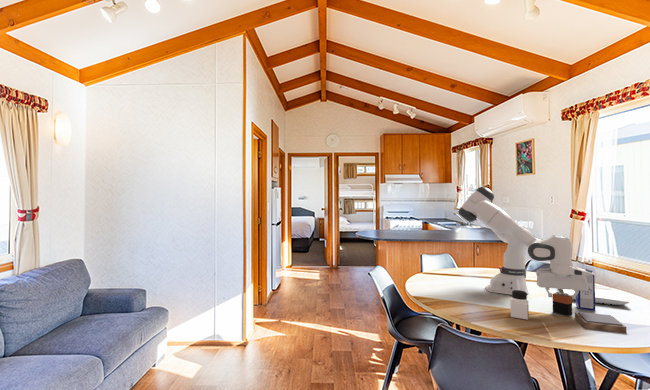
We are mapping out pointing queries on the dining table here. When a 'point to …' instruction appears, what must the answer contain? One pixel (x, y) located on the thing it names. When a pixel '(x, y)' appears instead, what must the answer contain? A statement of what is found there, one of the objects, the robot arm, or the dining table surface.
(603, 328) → the wooden square tray
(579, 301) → the milk carton
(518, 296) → the medicine bottle
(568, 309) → the battery
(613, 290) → the square plate
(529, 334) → the dining table surface
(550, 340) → the dining table surface
